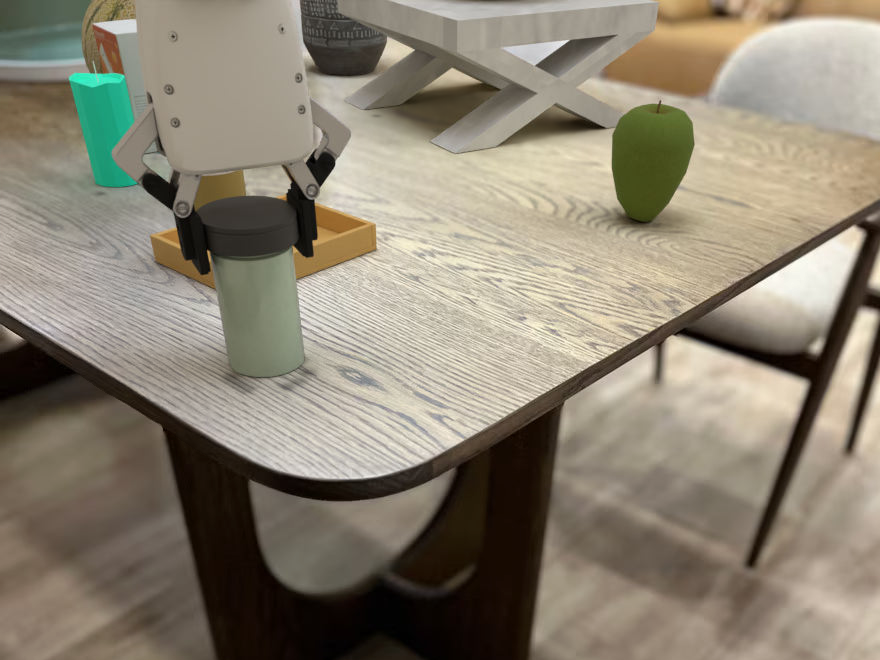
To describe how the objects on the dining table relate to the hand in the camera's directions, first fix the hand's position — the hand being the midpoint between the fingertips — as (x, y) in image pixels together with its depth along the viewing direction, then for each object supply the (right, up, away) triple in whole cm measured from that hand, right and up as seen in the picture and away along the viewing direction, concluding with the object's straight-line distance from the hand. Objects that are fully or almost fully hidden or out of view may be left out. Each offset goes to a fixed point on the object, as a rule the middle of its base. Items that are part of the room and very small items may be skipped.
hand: (252, 257), depth 62 cm
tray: (-3, +9, +21) cm, 23 cm away
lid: (0, +2, -2) cm, 3 cm away
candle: (-25, +25, +38) cm, 52 cm away
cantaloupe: (-30, +47, +62) cm, 84 cm away
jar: (0, -6, +5) cm, 8 cm away
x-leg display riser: (+20, +48, +64) cm, 82 cm away
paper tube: (-11, +18, +31) cm, 38 cm away
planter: (-3, +66, +83) cm, 106 cm away
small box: (-25, +35, +49) cm, 65 cm away
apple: (+35, +17, +31) cm, 50 cm away
